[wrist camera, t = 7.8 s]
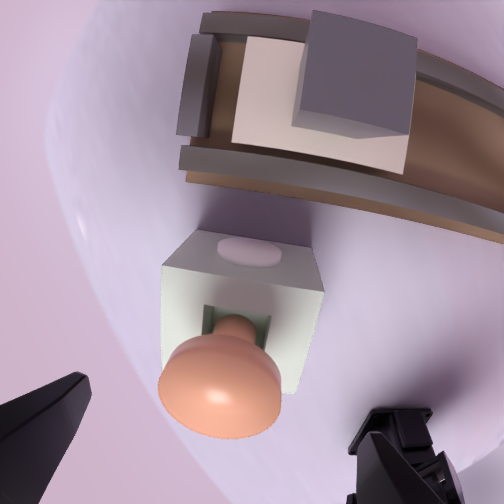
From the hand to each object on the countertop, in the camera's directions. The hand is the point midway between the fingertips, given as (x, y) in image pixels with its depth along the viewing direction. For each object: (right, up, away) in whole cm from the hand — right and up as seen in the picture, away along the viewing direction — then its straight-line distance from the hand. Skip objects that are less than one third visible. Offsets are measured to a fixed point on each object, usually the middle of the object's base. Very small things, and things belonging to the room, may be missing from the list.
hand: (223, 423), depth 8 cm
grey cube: (+1, +3, +11) cm, 12 cm away
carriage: (+4, +12, +6) cm, 14 cm away
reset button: (0, +1, +6) cm, 6 cm away
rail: (+10, +12, +8) cm, 17 cm away
